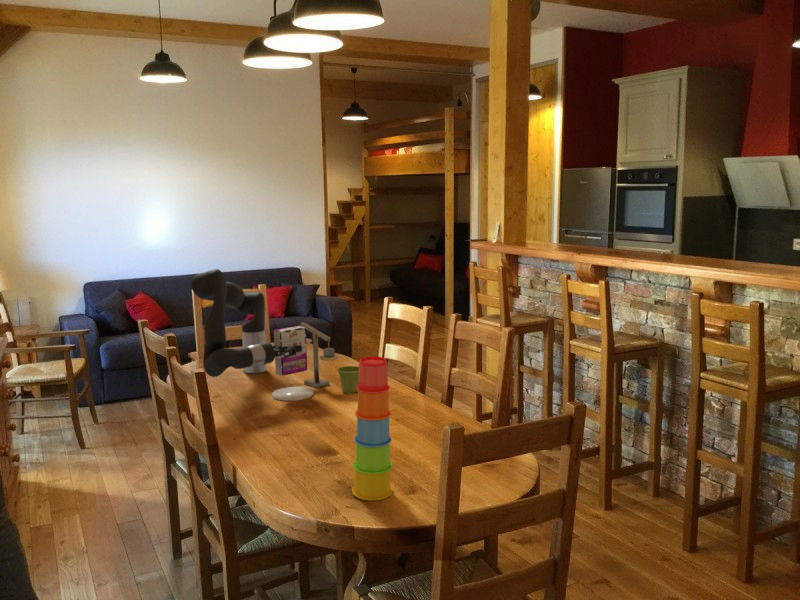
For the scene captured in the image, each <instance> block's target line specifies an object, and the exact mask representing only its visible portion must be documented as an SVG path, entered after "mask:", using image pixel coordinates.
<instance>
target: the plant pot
mask: <svg viewBox="0 0 800 600" xmlns="http://www.w3.org/2000/svg"><path fill="white" fill-rule="evenodd" d="M337 371H338V375H339V378H340V379H339V381H340V385H341V391H342V393H344V394H350V395H351V394H355V393H358V390H357V388H356V387H357V385H358V382H359V365H358V366H357V365H356V366H355V365H345V366H341V367H338V368H337Z"/></svg>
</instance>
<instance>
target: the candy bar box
mask: <svg viewBox="0 0 800 600" xmlns="http://www.w3.org/2000/svg"><path fill="white" fill-rule="evenodd" d="M306 330H307V329H306V328H305V327H302V326H300V325H297V326H291V327H285V328H279V329H274V330H273V341H274V342H273V344H274V345H276V346H280V347H283V346H287V347H292V346H298V345H301V346H302V351H301V352H296V355H293V356H290V357H286V358H284V356H281V357H278V358H276V357H275V358H274V361H275V362H274V364H275V374H276V375H278V376H282V377H283V376H284V377H285V376H288V375H292V374H297V373H301V372H302V373H303V372H305V371H308V357H307V356H308V355H307V354H308V353H307V351H308V350H307V343H306V339H307V331H306ZM284 350H285V348H284Z"/></svg>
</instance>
